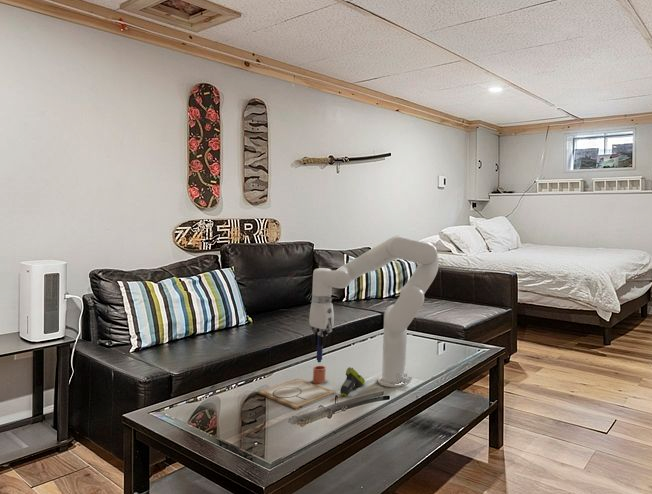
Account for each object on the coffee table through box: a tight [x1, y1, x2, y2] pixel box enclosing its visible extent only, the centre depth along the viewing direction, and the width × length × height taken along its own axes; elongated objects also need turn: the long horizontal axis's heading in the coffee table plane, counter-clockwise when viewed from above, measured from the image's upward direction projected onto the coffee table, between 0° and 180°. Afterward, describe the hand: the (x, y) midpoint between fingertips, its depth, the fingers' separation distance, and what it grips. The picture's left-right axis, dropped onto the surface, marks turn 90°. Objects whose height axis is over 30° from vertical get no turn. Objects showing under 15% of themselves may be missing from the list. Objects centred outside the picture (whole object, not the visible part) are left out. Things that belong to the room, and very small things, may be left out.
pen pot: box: [312, 365, 327, 384], centre depth 197 cm, size 5×5×6 cm
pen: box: [316, 332, 324, 363], centre depth 197 cm, size 2×2×12 cm
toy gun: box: [339, 366, 366, 398], centre depth 189 cm, size 2×14×10 cm
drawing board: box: [258, 378, 336, 410], centre depth 185 cm, size 22×18×1 cm
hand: (319, 344), depth 197 cm, fingers closed on pen, 2 cm apart
